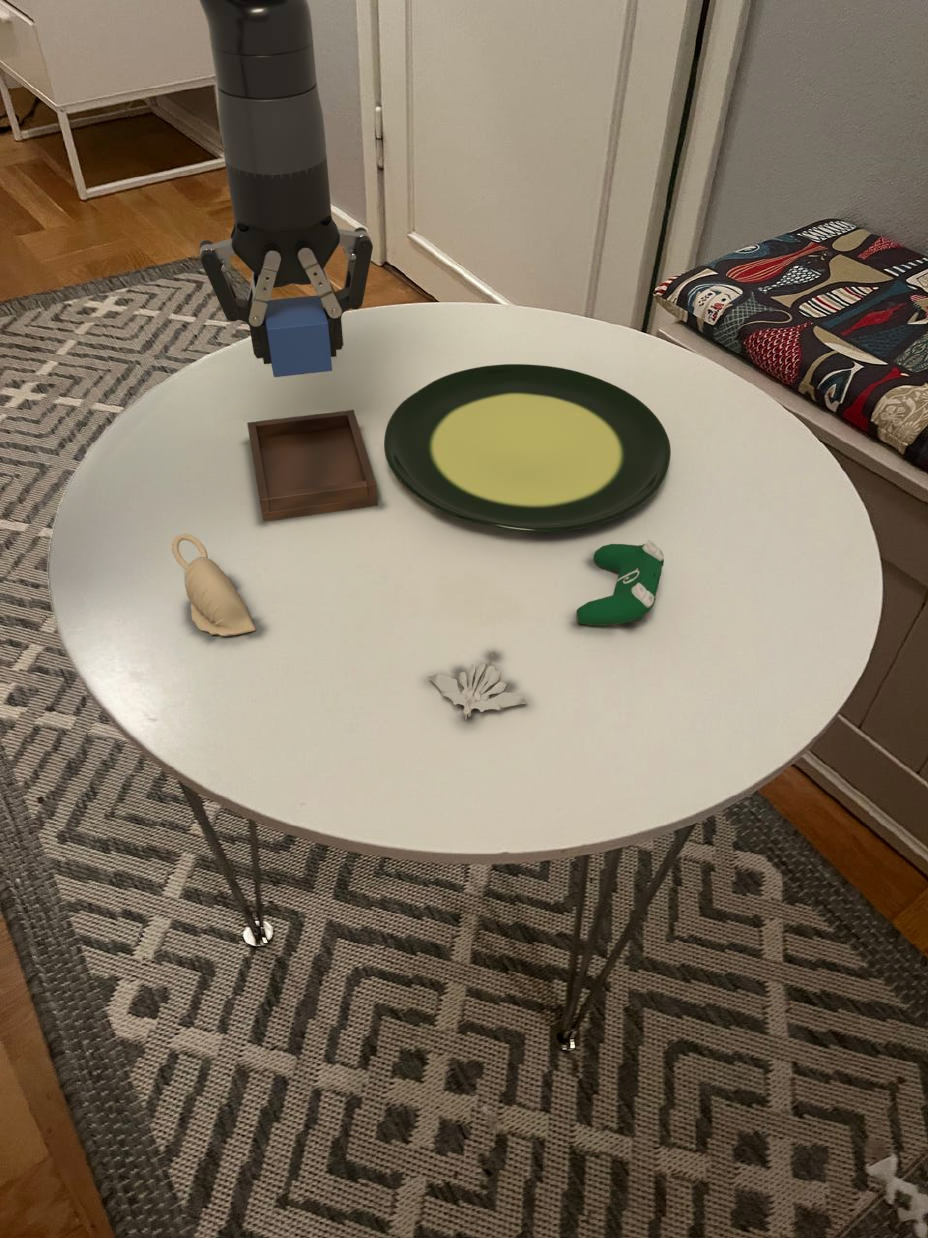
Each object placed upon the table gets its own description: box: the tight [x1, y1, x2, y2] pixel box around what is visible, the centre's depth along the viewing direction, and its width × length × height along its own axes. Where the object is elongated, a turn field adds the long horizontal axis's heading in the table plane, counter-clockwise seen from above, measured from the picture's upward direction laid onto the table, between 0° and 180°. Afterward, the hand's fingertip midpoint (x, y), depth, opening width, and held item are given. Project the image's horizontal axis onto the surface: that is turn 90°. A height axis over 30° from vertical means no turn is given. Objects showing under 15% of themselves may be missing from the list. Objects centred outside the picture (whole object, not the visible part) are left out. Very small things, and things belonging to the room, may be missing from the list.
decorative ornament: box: [171, 533, 257, 637], centre depth 77 cm, size 4×8×5 cm, turn 29°
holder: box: [246, 409, 378, 522], centre depth 91 cm, size 11×13×2 cm
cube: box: [264, 294, 333, 378], centre depth 81 cm, size 5×5×4 cm
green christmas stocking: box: [576, 539, 665, 626], centre depth 80 cm, size 9×4×6 cm
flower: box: [427, 652, 528, 720], centre depth 73 cm, size 8×8×3 cm
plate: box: [383, 363, 672, 533], centre depth 94 cm, size 28×28×2 cm
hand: (299, 355), depth 83 cm, fingers closed on cube, 5 cm apart
